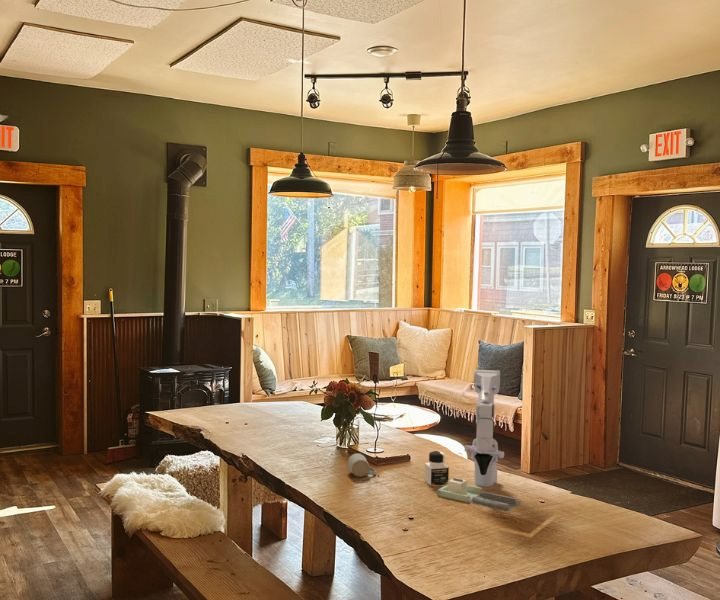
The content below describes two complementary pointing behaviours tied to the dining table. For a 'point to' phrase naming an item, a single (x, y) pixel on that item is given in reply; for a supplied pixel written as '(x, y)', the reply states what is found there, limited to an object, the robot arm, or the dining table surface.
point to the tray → (471, 492)
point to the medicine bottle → (436, 469)
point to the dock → (494, 501)
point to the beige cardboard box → (457, 486)
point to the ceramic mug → (360, 465)
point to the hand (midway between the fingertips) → (483, 474)
